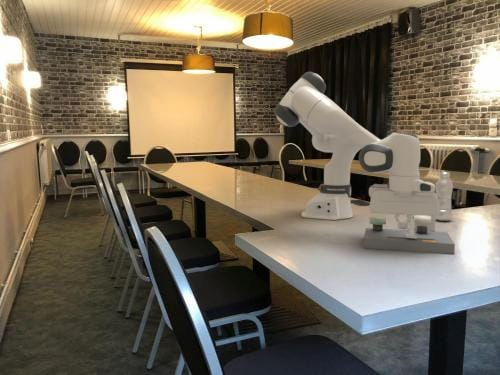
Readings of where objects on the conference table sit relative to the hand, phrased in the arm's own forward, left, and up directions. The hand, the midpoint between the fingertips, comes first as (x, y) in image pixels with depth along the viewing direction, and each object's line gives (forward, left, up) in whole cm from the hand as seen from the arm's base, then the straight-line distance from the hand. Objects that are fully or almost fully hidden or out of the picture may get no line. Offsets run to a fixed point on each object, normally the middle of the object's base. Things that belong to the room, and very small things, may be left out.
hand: (402, 228), depth 129 cm
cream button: (+6, +9, 0) cm, 11 cm away
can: (+8, +26, -6) cm, 28 cm away
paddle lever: (+3, 0, -3) cm, 4 cm away
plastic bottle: (+17, +47, -6) cm, 51 cm away
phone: (-18, +85, -7) cm, 87 cm away
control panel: (+1, +4, -6) cm, 8 cm away
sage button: (-8, +9, -1) cm, 12 cm away
